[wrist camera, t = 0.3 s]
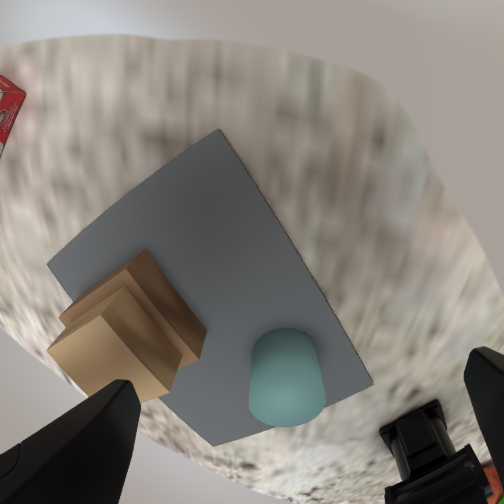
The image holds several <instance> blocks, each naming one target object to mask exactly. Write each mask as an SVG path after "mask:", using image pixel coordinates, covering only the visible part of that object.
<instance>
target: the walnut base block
mask: <svg viewBox="0 0 504 504" xmlns="http://www.w3.org/2000/svg"><path fill="white" fill-rule="evenodd" d="M123 286H125V287H126V288H127V289H128V290H129V292H130V293H131V294H132V296H133V297H134V298H135V299H136V301H137V302H138V303H139V305H140V306H141V307H142V308H143V310H144V311H145V312H146V313H147V315H148V316H149V317H150V318H151V319H152V321H153V322H154V323H155V324H156V326H157V327H158V328H159V329H160V330H161V332H162V333H163V334H164V335H165V336H166V337H167V339H168V340H169V341H170V342H171V343H172V344H173V346H174V347H175V348H176V349H177V350H178V351H179V352H180V354H181V355H182V358H181V361H180V364H179V367H178V369H180V368H182V367H184V366H187V365H189V364H191V363H193V362H196V361H198V360H199V359H200V355H201V352H202V348H203V345H204V341H205V337H206V334H207V329H206V328H205V327H204V326H203V324H202V323H201V322H200V321H199V319H198V318H197V317H196V315H195V314H194V313H193V312H192V310H191V309H190V308H189V307H188V305H187V304H186V303H185V301H184V300H183V299H182V298H181V296H180V295H179V294H178V292H177V291H176V290H175V288H174V287H173V286H172V284H171V283H170V282H169V280H168V279H167V278H166V276H165V275H164V274H163V272H162V271H161V270H160V268H159V267H158V266H157V264H156V263H155V261H154V260H153V259H152V257H151V256H150V255H149V253H148V252H147V250H146V249H144V250H143V251H141V252H140V253H138V254H137V255H135V256H134V257H133V258H131V259H130V260H128V261H127V262H125V263H124V264H123V265H121V266H120V267H118V268H117V269H116V270H114V271H113V272H111V273H110V274H109V275H107V276H106V277H105V278H103V279H102V280H100V281H99V282H98V283H96V284H95V285H94V286H92V287H91V288H90V289H88V290H87V291H86V292H84V293H83V294H81V295H80V296H79V297H78V298H77V299H76V300H75V301H74V302H73V303H72V304H71V305H70V306H69V307H68V308H67V309H66V310H65V311H64V312H63V313H62V314H61V315H60V316H59V317H58V318H59V319H60V320H61V322H62V323H63V324H64V325H65V327H67V326H68V325H69V324H70V323H71V322H72V321H74V320H75V319H76V318H78V317H79V316H81V315H82V314H84V313H85V312H87V311H88V310H89V309H91V308H92V307H94V306H95V305H97V304H98V303H100V302H101V301H103V300H104V299H106V298H107V297H109V296H110V295H111V294H113V293H114V292H116V291H117V290H119V289H120V288H122V287H123Z"/></svg>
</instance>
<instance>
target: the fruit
mask: <svg viewBox="0 0 504 504" xmlns="http://www.w3.org/2000/svg"><path fill="white" fill-rule="evenodd" d="M483 470H484V472H485V474H486V476H487V478H488V481H489V483H490V486H491V488H492V491H493V496H492V497H491V498H489V499H487V502H488V504H504V492H503V489H502V486H501V483H500V480H499V477H498V474H497V471H496V468H494V467H484V468H483Z"/></svg>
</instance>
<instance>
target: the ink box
mask: <svg viewBox="0 0 504 504" xmlns="http://www.w3.org/2000/svg"><path fill="white" fill-rule="evenodd" d="M24 97H25V93H24V92H23V91H22V90H20V89H19V88H18V87H16V86H15V85H14V84H13V83H11V82H10V81H8V80H7V79H6V78H4V77H3V76H1V75H0V155H1V152H2V149H3V147H4V144H5V141H6V139H7V136H8V134H9V131H10V129H11V126H12V124H13V122H14V119H15V117H16V115H17V113H18V110H19V108H20V106H21V104H22V102H23V99H24Z"/></svg>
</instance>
